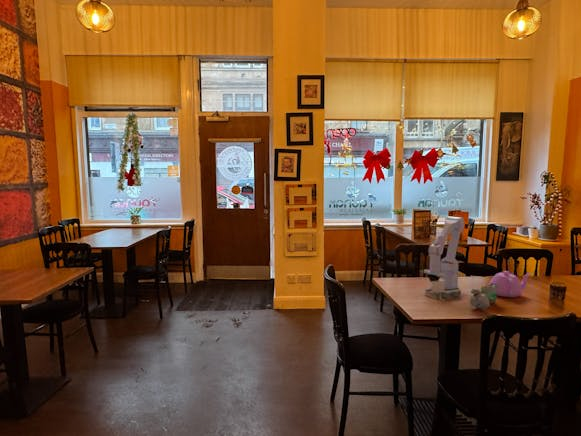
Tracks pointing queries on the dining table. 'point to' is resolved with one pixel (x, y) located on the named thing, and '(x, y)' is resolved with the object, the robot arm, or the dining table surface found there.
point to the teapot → (509, 284)
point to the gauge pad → (437, 286)
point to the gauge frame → (444, 294)
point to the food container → (490, 292)
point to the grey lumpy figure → (479, 299)
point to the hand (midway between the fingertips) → (433, 287)
